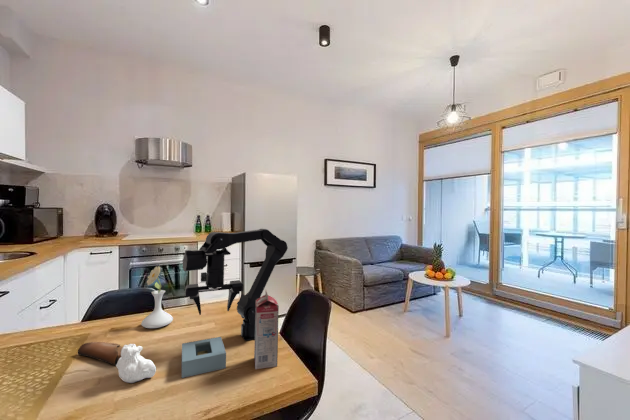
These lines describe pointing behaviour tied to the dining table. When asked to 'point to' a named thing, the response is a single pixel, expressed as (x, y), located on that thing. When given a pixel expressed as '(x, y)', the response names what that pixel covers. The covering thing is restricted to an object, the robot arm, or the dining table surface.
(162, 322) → the flower in vase
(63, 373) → the dining table surface
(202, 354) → the tan wooden post
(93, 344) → the sunglasses case
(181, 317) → the dining table surface
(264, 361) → the juice carton
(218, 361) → the blue-grey hollow frame
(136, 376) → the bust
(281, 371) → the dining table surface
